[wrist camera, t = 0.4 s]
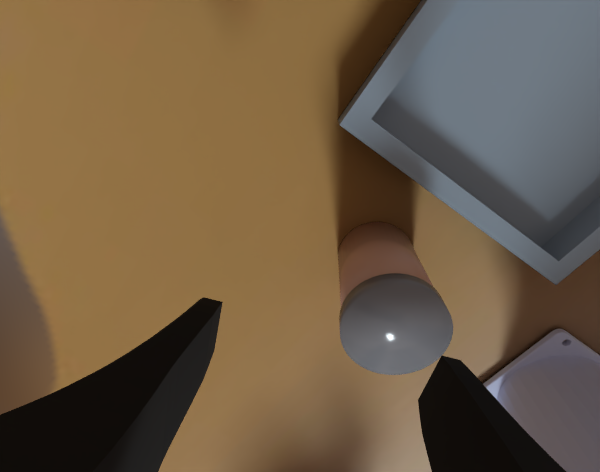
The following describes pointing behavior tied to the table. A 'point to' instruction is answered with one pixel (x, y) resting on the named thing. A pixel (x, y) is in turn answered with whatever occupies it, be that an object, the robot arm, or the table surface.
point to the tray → (497, 120)
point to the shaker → (389, 303)
